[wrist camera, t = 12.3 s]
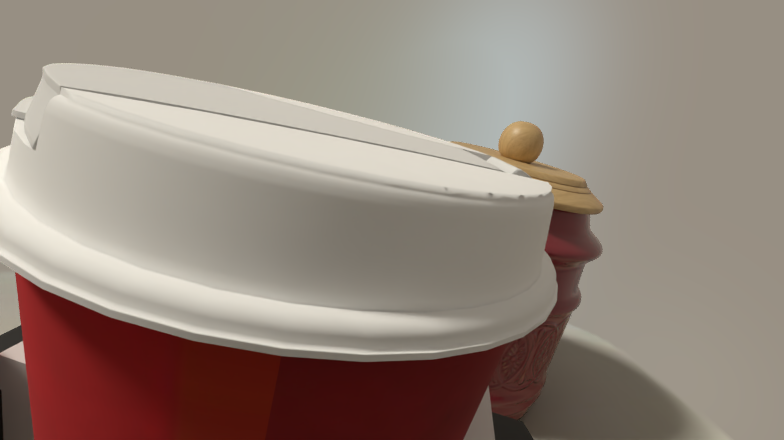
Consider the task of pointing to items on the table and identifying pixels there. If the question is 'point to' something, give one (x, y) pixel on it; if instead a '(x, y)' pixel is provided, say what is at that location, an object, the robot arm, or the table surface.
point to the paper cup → (257, 264)
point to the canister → (568, 254)
